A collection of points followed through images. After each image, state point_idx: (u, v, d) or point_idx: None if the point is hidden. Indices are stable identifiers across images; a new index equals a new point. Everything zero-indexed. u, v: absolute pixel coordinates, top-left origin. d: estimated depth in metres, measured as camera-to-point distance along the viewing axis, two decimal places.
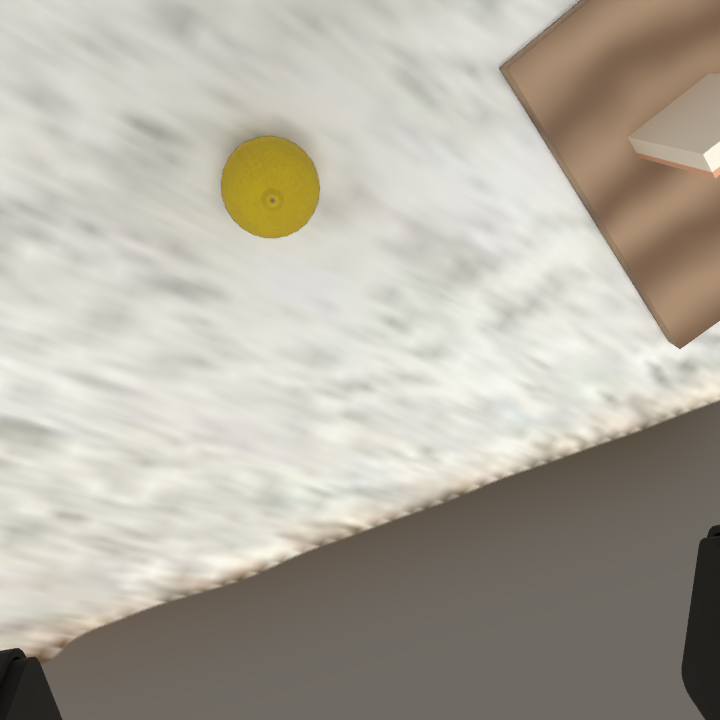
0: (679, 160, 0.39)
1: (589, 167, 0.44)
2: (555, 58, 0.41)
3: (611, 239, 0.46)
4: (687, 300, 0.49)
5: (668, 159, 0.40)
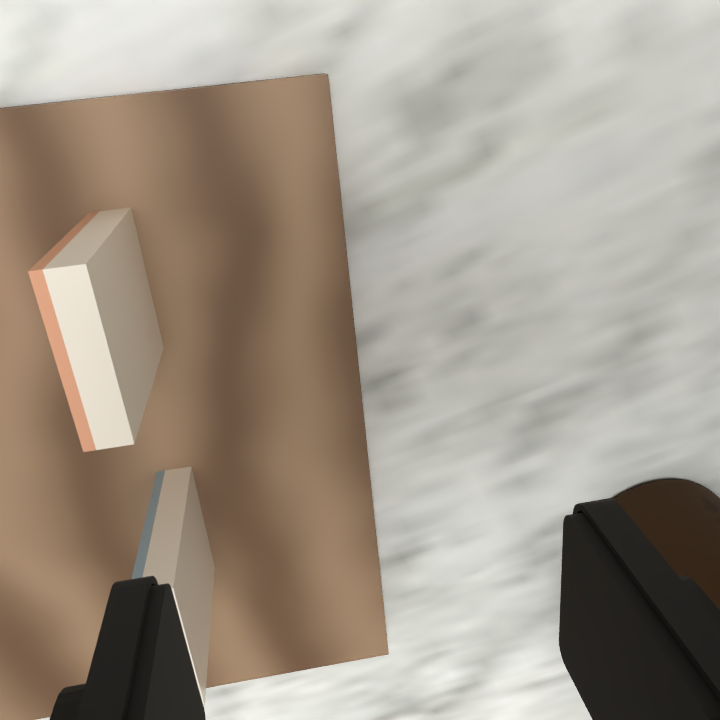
0: (76, 243, 0.22)
1: (112, 129, 0.26)
2: (301, 150, 0.27)
3: None
4: None
5: (80, 234, 0.23)
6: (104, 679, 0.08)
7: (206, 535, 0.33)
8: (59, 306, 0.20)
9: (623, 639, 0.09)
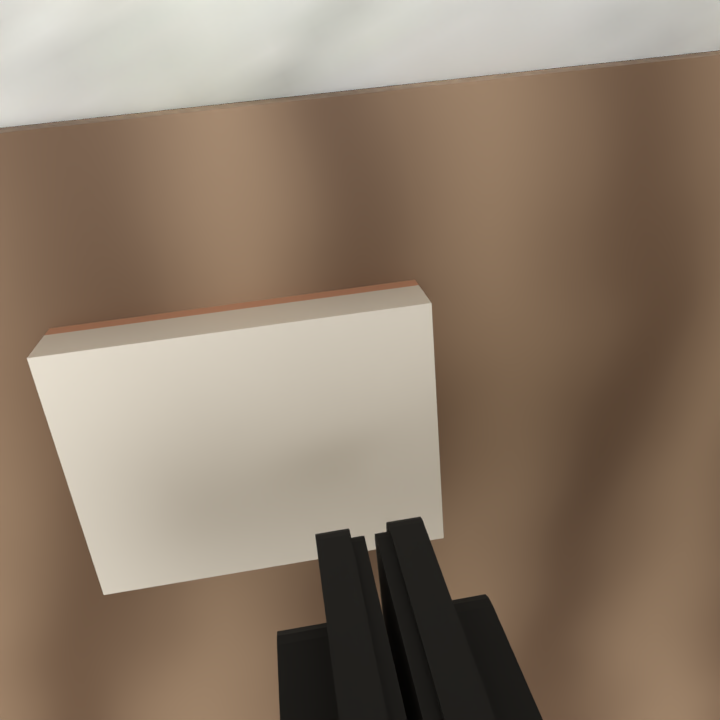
0: (181, 321, 0.14)
1: (486, 135, 0.14)
2: None
3: (227, 107, 0.14)
4: None
5: (242, 310, 0.15)
6: (341, 616, 0.08)
7: None
8: None
9: (401, 660, 0.09)
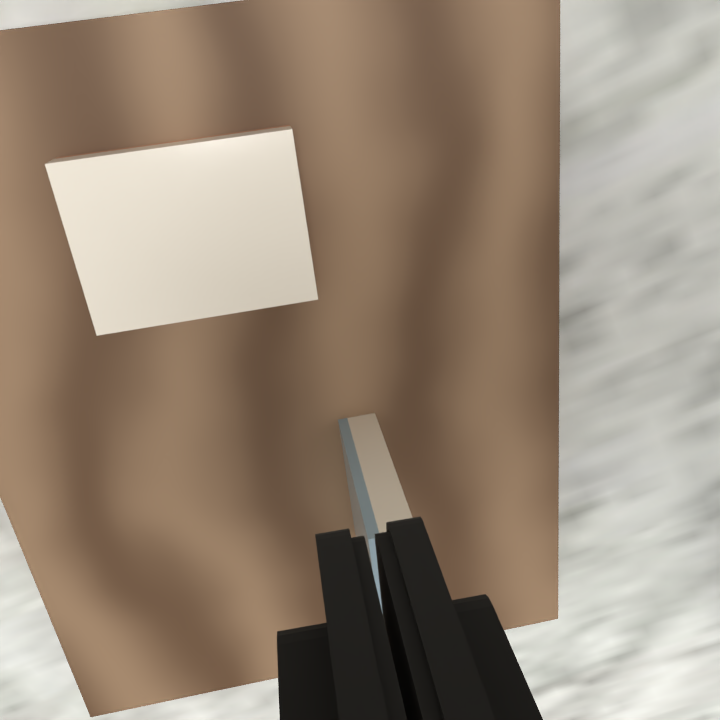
0: (139, 147, 0.23)
1: (325, 27, 0.23)
2: (523, 49, 0.24)
3: (162, 11, 0.22)
4: None
5: (177, 142, 0.23)
6: (342, 616, 0.08)
7: None
8: None
9: (401, 660, 0.09)
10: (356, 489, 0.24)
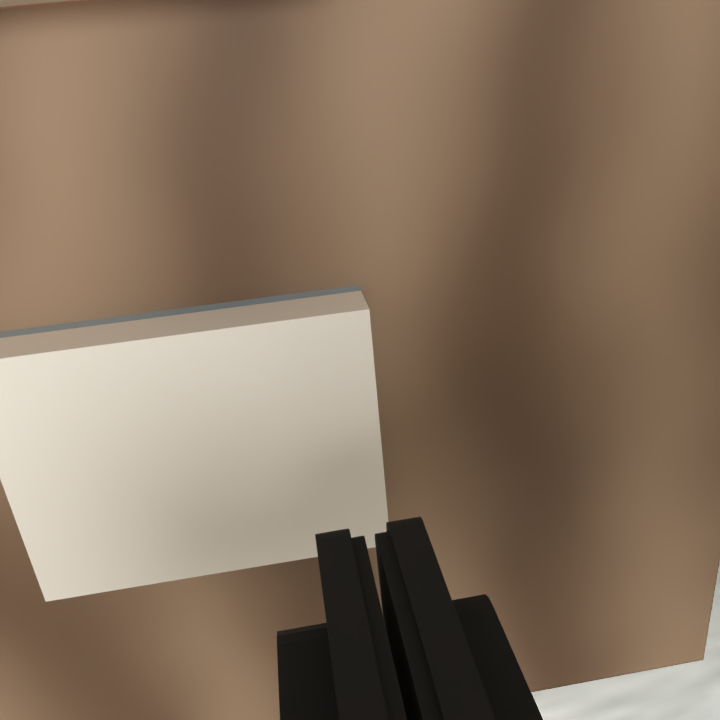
0: None
1: None
2: None
3: None
4: None
5: None
6: (341, 616, 0.08)
7: (372, 469, 0.15)
8: None
9: (401, 660, 0.09)
10: (121, 317, 0.15)
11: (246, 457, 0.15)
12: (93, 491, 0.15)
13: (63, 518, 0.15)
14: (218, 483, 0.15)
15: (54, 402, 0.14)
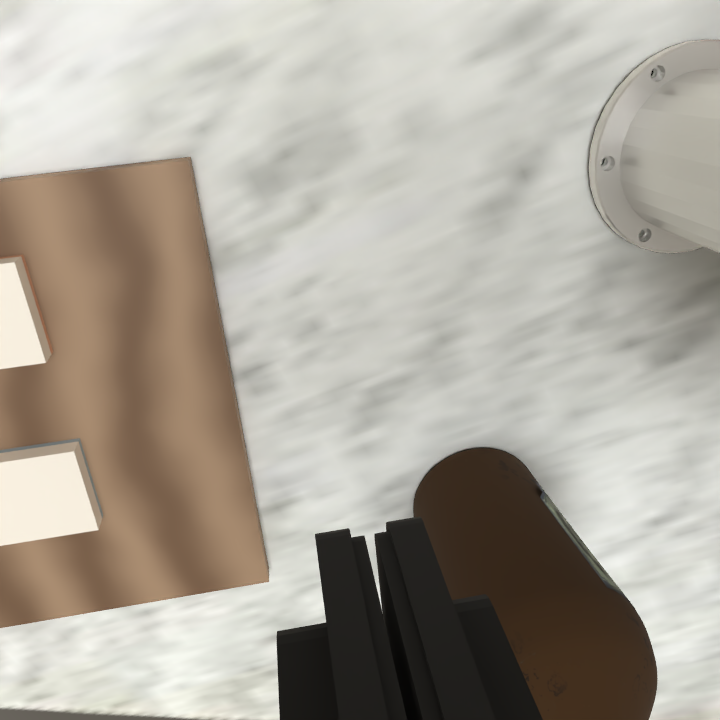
0: None
1: (39, 198, 0.37)
2: (172, 210, 0.39)
3: None
4: None
5: None
6: (341, 616, 0.08)
7: (85, 503, 0.44)
8: None
9: (401, 660, 0.09)
10: None
11: (38, 499, 0.43)
12: None
13: None
14: (29, 508, 0.43)
15: None
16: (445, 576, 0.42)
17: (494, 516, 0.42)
